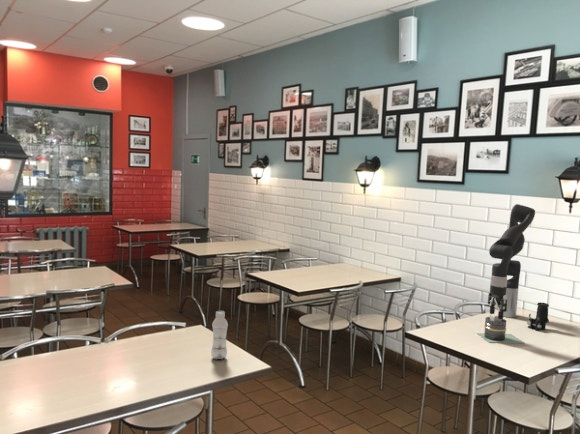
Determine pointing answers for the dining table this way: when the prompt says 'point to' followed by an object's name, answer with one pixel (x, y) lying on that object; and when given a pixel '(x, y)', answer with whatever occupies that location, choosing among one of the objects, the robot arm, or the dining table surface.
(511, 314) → the robot arm
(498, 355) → the dining table surface
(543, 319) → the scope
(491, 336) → the grey faceted ring
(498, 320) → the white stepped cube
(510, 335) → the mat
